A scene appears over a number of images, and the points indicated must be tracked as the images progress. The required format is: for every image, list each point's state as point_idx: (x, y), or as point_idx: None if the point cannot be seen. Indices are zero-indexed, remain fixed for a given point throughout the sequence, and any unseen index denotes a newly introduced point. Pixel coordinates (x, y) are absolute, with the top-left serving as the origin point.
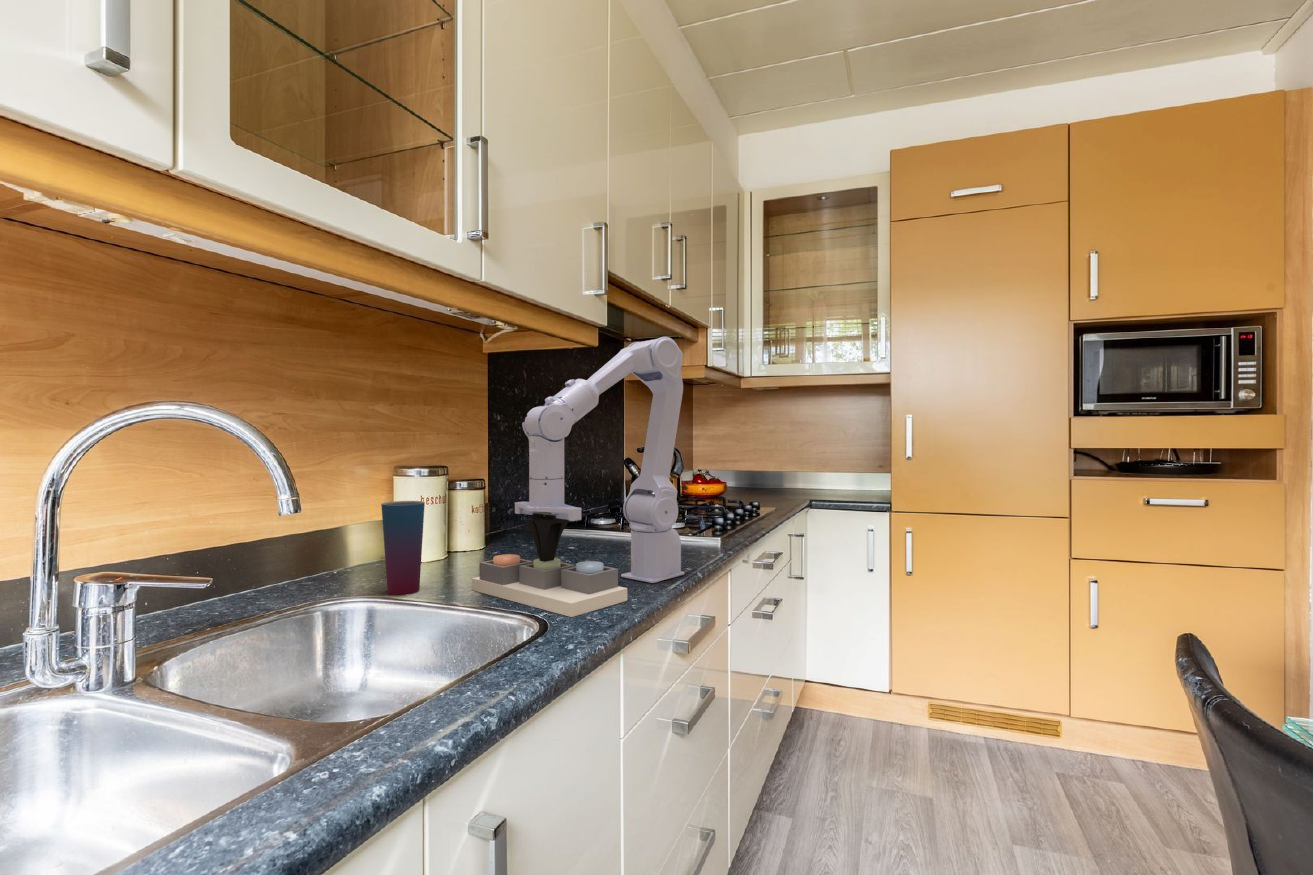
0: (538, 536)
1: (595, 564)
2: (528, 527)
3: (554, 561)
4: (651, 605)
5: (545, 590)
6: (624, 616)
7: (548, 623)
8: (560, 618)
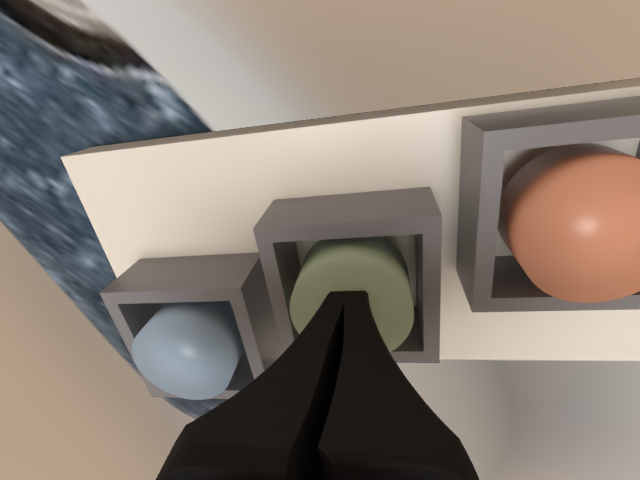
0: (339, 373)
1: (161, 368)
2: (429, 411)
3: (305, 318)
4: (111, 339)
5: (262, 195)
6: (50, 247)
7: (60, 52)
8: (96, 115)
